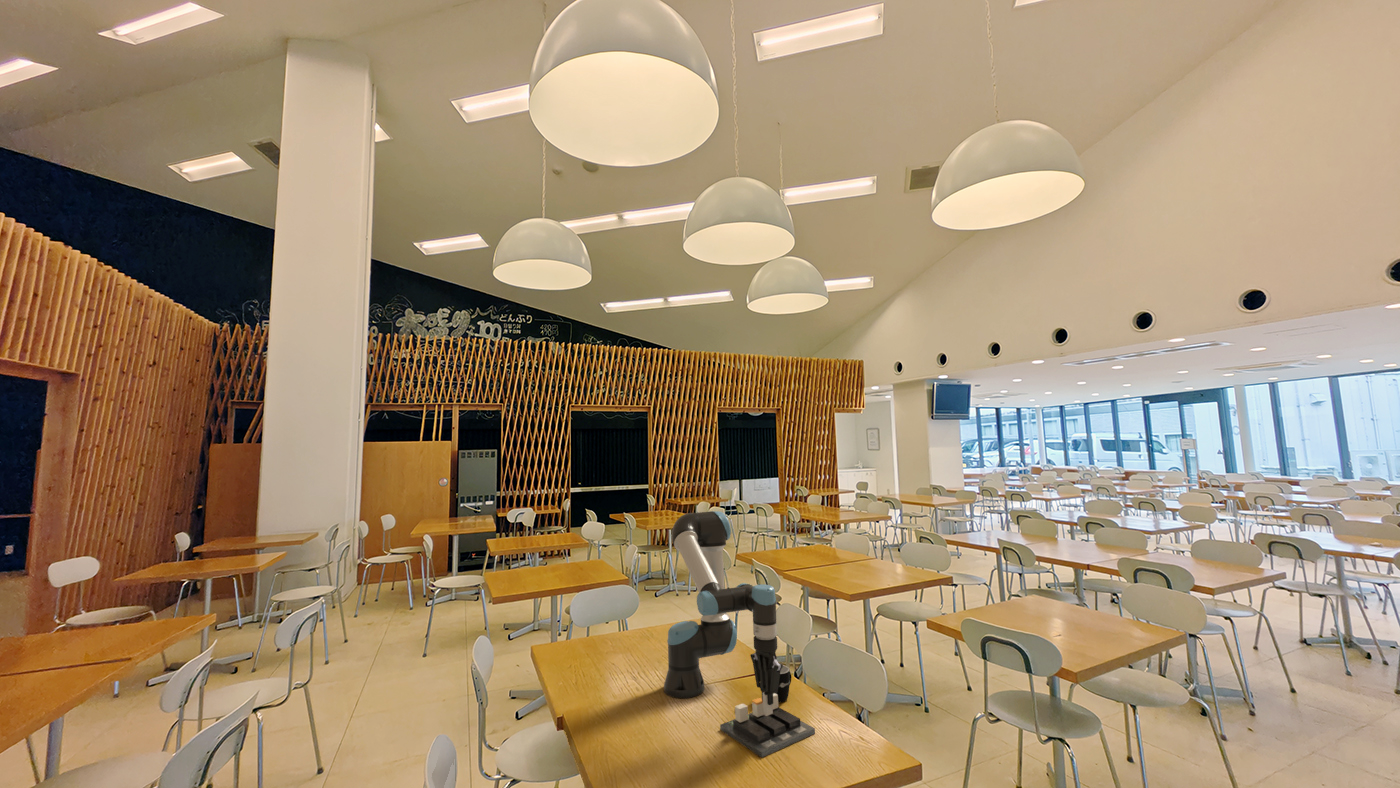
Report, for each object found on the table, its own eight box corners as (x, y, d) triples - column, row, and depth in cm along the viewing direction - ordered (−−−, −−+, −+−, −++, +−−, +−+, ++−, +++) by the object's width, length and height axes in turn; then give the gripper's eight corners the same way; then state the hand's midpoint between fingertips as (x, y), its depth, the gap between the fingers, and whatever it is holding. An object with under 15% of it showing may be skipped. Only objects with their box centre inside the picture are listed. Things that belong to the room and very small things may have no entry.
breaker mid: (752, 714, 171) (751, 700, 172) (760, 711, 173) (759, 697, 174) (757, 717, 169) (756, 703, 170) (765, 714, 171) (764, 700, 172)
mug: (779, 706, 184) (778, 676, 185) (760, 698, 191) (759, 668, 192) (801, 695, 192) (799, 666, 193) (781, 688, 199) (780, 659, 200)
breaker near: (735, 719, 168) (735, 706, 169) (743, 716, 170) (742, 703, 170) (740, 722, 166) (739, 709, 167) (748, 719, 168) (747, 706, 169)
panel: (720, 729, 170) (720, 718, 170) (771, 709, 182) (771, 698, 182) (761, 757, 153) (761, 744, 154) (815, 733, 166) (814, 721, 166)
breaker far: (766, 707, 176) (765, 694, 176) (773, 704, 177) (772, 692, 178) (771, 710, 174) (770, 697, 174) (778, 707, 175) (777, 694, 176)
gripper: (743, 633, 174) (745, 709, 171) (770, 644, 163) (773, 726, 160) (760, 628, 178) (763, 702, 175) (787, 639, 167) (791, 718, 165)
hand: (768, 713), depth 168 cm, fingers closed
